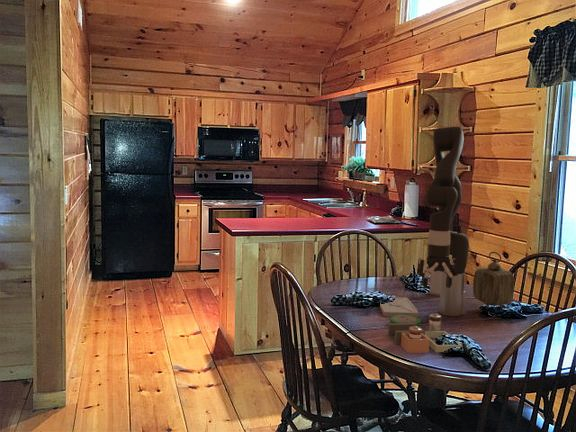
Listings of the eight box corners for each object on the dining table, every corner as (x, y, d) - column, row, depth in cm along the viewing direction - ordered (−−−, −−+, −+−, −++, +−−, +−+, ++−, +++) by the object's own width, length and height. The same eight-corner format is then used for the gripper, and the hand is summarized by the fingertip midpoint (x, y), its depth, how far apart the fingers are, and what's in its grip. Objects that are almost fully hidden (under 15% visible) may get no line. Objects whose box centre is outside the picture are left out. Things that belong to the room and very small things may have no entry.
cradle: (412, 334, 194) (412, 320, 194) (424, 345, 183) (425, 331, 182) (385, 334, 193) (386, 321, 192) (395, 346, 182) (396, 332, 181)
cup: (420, 346, 182) (421, 332, 182) (428, 354, 175) (429, 339, 175) (400, 346, 181) (401, 332, 181) (408, 354, 175) (408, 340, 174)
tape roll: (384, 325, 204) (385, 319, 204) (399, 319, 212) (400, 312, 212) (410, 332, 197) (411, 325, 196) (425, 325, 205) (425, 319, 204)
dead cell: (418, 346, 181) (419, 324, 180) (422, 350, 177) (424, 328, 176) (406, 346, 180) (407, 324, 179) (410, 351, 176) (411, 328, 175)
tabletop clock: (512, 315, 219) (516, 254, 215) (494, 317, 215) (498, 256, 212) (487, 305, 232) (491, 248, 229) (470, 307, 229) (473, 249, 226)
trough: (444, 338, 191) (444, 330, 190) (462, 352, 177) (462, 345, 177) (419, 338, 190) (420, 331, 189) (436, 353, 176) (436, 346, 175)
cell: (437, 332, 197) (438, 312, 196) (442, 336, 193) (443, 315, 192) (426, 332, 196) (427, 312, 195) (431, 336, 192) (432, 315, 191)
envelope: (407, 301, 238) (376, 301, 238) (407, 296, 238) (376, 296, 238) (418, 317, 214) (384, 316, 215) (418, 312, 214) (384, 311, 214)
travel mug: (445, 293, 250) (447, 251, 247) (441, 296, 244) (443, 253, 242) (432, 291, 253) (434, 249, 251) (427, 294, 248) (430, 251, 245)
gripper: (453, 240, 195) (451, 284, 197) (415, 241, 193) (413, 285, 195) (462, 244, 188) (460, 290, 190) (423, 244, 186) (421, 290, 188)
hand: (436, 287), depth 192 cm, fingers open, 8 cm apart
